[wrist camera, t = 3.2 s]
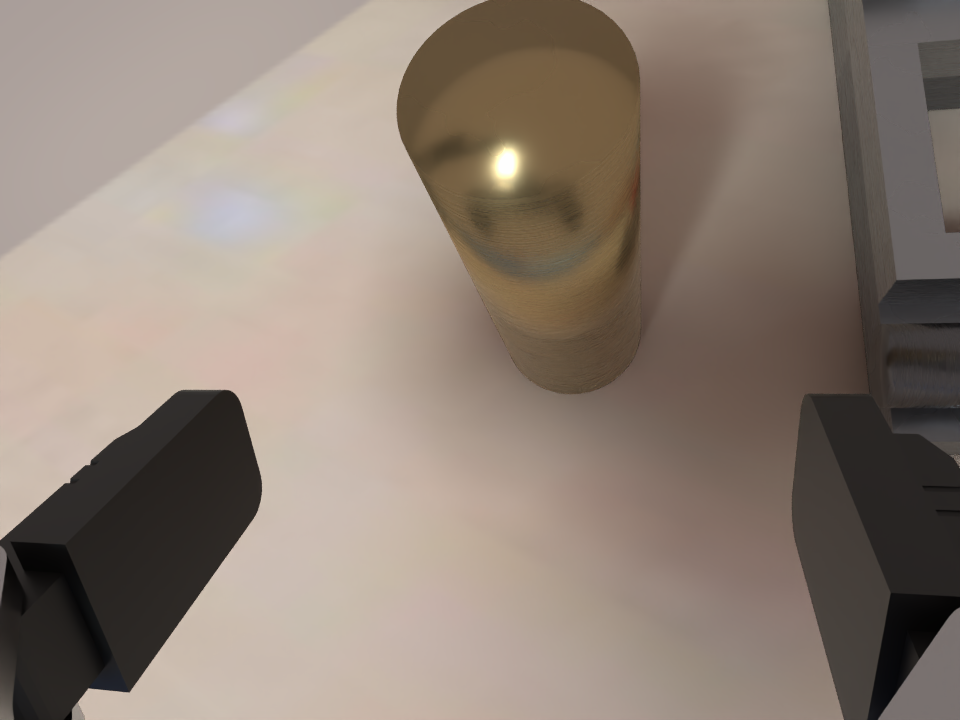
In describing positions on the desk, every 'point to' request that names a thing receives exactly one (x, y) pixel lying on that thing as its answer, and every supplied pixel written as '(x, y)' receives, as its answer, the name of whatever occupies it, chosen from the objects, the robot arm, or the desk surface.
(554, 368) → the bronze pin
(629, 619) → the desk surface
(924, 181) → the grey roller frame base
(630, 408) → the desk surface
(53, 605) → the robot arm
